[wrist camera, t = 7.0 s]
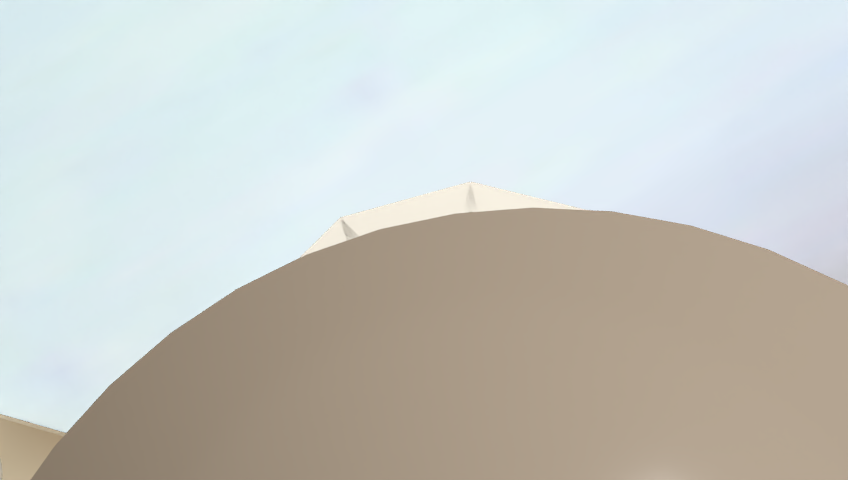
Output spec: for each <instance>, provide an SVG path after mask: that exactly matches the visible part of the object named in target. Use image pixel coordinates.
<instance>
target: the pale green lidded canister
mask: <svg viewBox="0 0 848 480" xmlns="http://www.w3.org/2000/svg"><path fill="white" fill-rule="evenodd" d="M31 480H848V286H847V285H846V284H844V283H841V282H839V281H837V280H835V279H832V278H830V277H828V276H826V275H824V274H821V273H819V272H817V271H815V270H812V269H810V268H808V267H806V266H804V265H801V264H799V263H797V262H795V261H792V260H790V259H788V258H786V257H784V256H781V255H779V254H777V253H775V252H772V251H770V250H768V249H764V248H761V247H758V246H755V245H752V244H748V243H745V242H742V241H739V240H735V239H732V238H729V237H726V236H723V235H719V234H716V233H713V232H710V231H706V230H703V229H700V228H697V227H694V226H690V225H684V224H679V223H673V222H668V221H662V220H657V219H651V218H645V217H640V216H634V215H629V214H623V213H617V212H612V211H592V210H572V209H553V208H520V209H507V210H494V211H481V212H468V213H455V214H451V215H446V216H441V217H436V218H431V219H427V220H422V221H417V222H412V223H407V224H402V225H398V226H393V227H388V228H383V229H379V230H376V231H373V232H370V233H367V234H365V235H362V236H359V237H356V238H353V239H350V240H347V241H344V242H341V243H338V244H336V245H333V246H330V247H327V248H324V249H321V250H318V251H315V252H312V253H310V254H307V255H305V256H303V257H301V258H299V259H297V260H295V261H293V262H291V263H289V264H287V265H284V266H282V267H280V268H278V269H276V270H274V271H272V272H270V273H268V274H266V275H264V276H262V277H260V278H258V279H256V280H254V281H252V282H250V283H248V284H246V285H244V286H242V287H240V288H238V289H236V290H235V291H233V292H232V293H230V294H229V295H227V296H226V297H224V298H223V299H221V300H220V301H218V302H217V303H215V304H214V305H212V306H211V307H209V308H208V309H206V310H205V311H203V312H202V313H200V314H199V315H197V316H196V317H194V318H193V319H191V320H190V321H188V322H187V323H185V324H184V325H182V326H181V327H179V328H178V329H176V330H175V331H173V332H172V333H170V334H169V335H168V336H167V337H166V338H164V339H163V340H162V341H161V342H160V343H159V344H157V345H156V346H155V347H154V348H153V349H152V350H150V351H149V352H148V353H147V354H146V355H145V356H144V357H142V358H141V359H140V360H139V361H138V362H137V363H135V364H134V365H133V366H132V367H131V368H130V369H128V370H127V371H126V372H125V373H124V374H123V375H121V376H120V377H119V378H118V379H117V380H116V381H114V382H113V383H112V384H111V385H110V386H109V387H108V388H107V389H106V390H105V391H104V392H103V394H102V395H101V396H100V397H99V398H98V399H97V400H96V401H95V402H94V403H93V405H92V406H91V407H90V408H89V409H88V410H87V411H86V412H85V413H84V414H83V416H82V417H81V418H80V419H79V420H78V421H77V422H76V423H75V424H74V425H73V427H72V428H71V429H70V430H69V431H68V432H67V433H66V434H65V435H64V436H63V438H62V439H61V440H60V441H59V442H58V443H57V444H56V445H55V446H54V448H53V449H52V450H51V452H50V453H49V455H48V456H47V457H46V459H45V460H44V462H43V463H42V464H41V466H40V467H39V469H38V470H37V471H36V473H35V474H34V476H33V477H32V479H31Z"/></svg>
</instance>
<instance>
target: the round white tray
mask: <svg viewBox="0 0 848 480" xmlns="http://www.w3.org/2000/svg"><path fill="white" fill-rule="evenodd" d="M520 208H553V209H572V210H584V209H580V208H576V207H572V206H568V205H564V204H560V203H556V202H552V201H548V200H544V199H540V198H535V197H531V196H527V195H523V194H519V193H515V192H511V191H507V190H503V189H499V188H495V187H491V186H486V185H482V184H478V183H474V182H471V183H470V182H467V183H464V184H460V185H456V186H453V187H449V188H446V189H442V190H438V191H435V192H431V193H427V194H424V195H420V196H417V197H413V198H409V199H406V200H402V201H398V202H395V203H391V204H388V205H384V206H380V207H377V208H373V209H369V210H366V211H362V212H359V213H355V214H351V215H348V216H344V217H341V218H339V219H338V220H337V221H336V222H335V223H334V224H333V225H332V226H331V227H330V228H329V229H328V230H327V231H326V232H325V233H324V234H323V235H322V236H321V237H320V238H319V239H318V240H317V241H316V242H315V243H314V244H313V245H312V246H311V247H310V248H309V249H308V250H307V251H306V252H305V253H304V254H303V255H302V256H301V257H303V256H305V255H307V254H310V253H312V252H315V251H318V250H321V249H324V248H327V247H330V246H333V245H336V244H338V243H341V242H344V241H347V240H350V239H353V238H356V237H359V236H362V235H365V234H367V233H370V232H373V231H376V230H379V229H383V228H388V227H393V226H398V225H402V224H407V223H412V222H417V221H422V220H427V219H431V218H436V217H441V216H446V215H451V214H455V213H468V212H481V211H494V210H507V209H520ZM301 257H300V258H301Z"/></svg>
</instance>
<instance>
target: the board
mask: <svg viewBox="0 0 848 480" xmlns="http://www.w3.org/2000/svg"><path fill="white" fill-rule="evenodd" d="M65 434H66V433H64V432H60V431H57V430H54V429H50V428H47V427H43V426H40V425H36V424H33V423H29V422H26V421H22V420H19V419H15V418H12V417H8V416H5V415H1V414H0V459H1V463H2V471H3V477H2V480H31V479H32V477H33V476H34V474H35V473H36V471H37V470H38V469H39V467H40V466H41V464H42V463H43V462H44V460H45V459H46V457H47V456H48V455H49V453H50V452H51V450H52V449H53V448H54V446H55V445H56V444H57V443H58V442H59V441H60V440H61V439H62V438H63V436H64V435H65Z"/></svg>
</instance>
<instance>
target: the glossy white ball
mask: <svg viewBox="0 0 848 480" xmlns="http://www.w3.org/2000/svg"><path fill="white" fill-rule="evenodd" d="M2 477H3V471H2V463H1V459H0V480H2Z"/></svg>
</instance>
